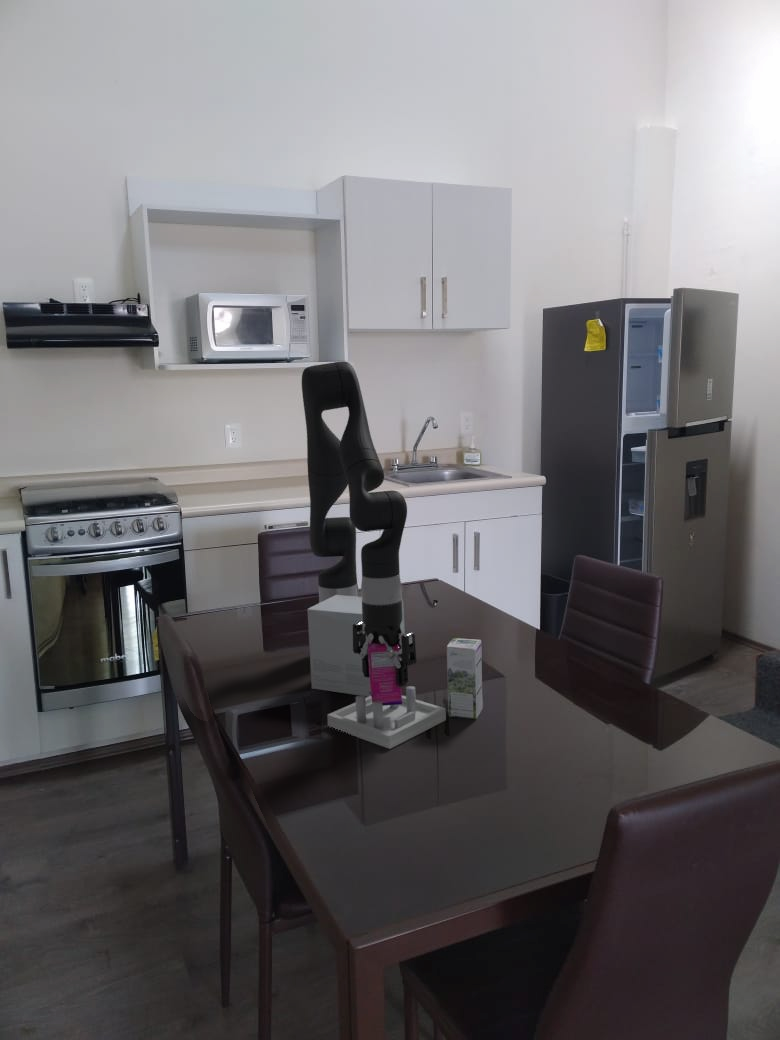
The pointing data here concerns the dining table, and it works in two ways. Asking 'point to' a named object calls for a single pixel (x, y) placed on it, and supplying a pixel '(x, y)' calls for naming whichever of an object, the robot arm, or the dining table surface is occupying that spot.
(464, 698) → the syrup box
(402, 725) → the tray
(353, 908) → the dining table surface
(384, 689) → the supplement box
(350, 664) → the supplement box
